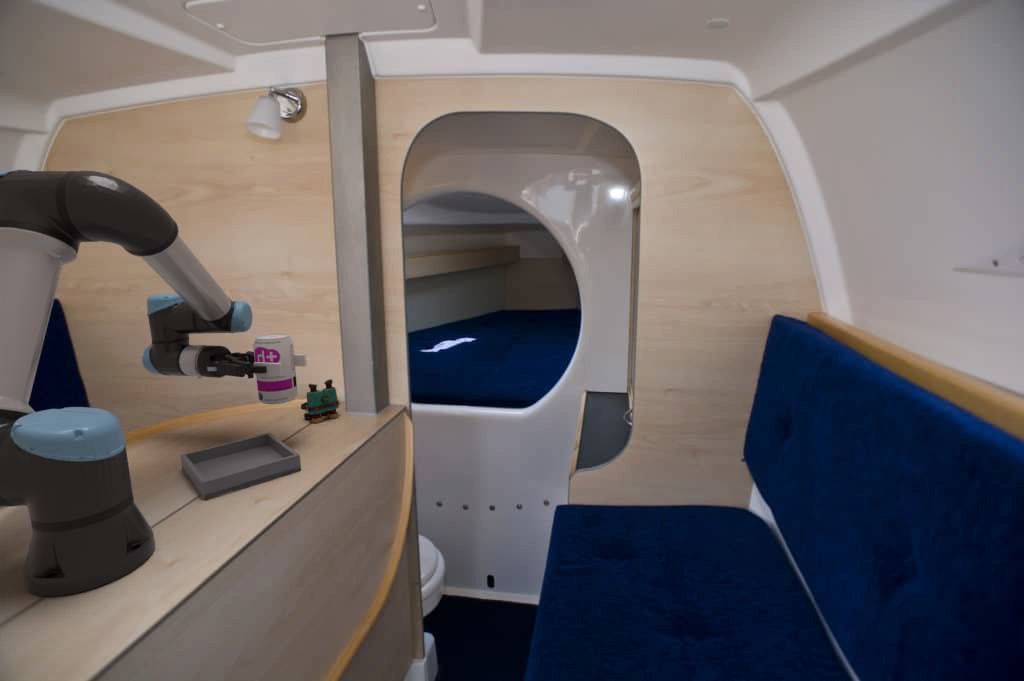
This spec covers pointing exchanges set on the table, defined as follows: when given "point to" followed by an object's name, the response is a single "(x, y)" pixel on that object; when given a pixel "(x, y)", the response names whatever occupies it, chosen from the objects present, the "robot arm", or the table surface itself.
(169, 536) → the table surface
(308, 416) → the binoculars
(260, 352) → the supplement can
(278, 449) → the tray
